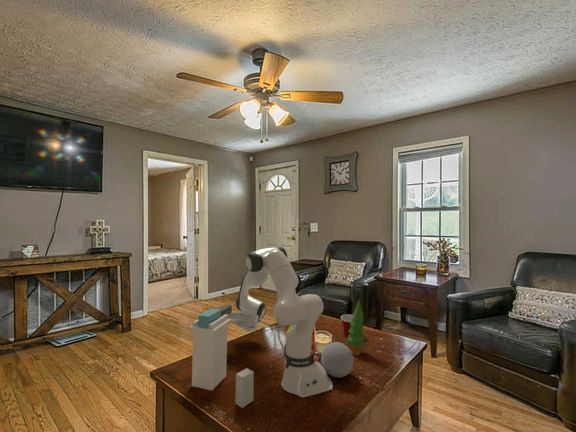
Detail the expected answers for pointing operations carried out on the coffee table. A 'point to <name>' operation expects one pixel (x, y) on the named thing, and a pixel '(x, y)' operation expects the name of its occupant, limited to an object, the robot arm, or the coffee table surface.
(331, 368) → the decorative ball
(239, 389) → the skincare box
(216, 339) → the cable duct stand
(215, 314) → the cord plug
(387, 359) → the coffee table surface
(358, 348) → the decorative tree
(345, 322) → the plastic cup
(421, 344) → the coffee table surface
